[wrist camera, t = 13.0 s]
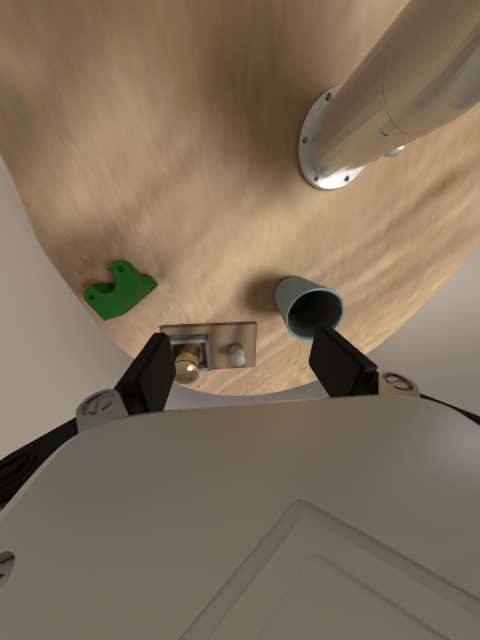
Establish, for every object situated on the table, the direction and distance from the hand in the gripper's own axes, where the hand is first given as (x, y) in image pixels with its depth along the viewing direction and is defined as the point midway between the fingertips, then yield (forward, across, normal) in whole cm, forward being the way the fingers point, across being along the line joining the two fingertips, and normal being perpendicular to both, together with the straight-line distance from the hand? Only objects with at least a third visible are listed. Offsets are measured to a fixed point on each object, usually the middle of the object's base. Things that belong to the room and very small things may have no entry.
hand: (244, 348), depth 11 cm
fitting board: (+28, +5, +19) cm, 34 cm away
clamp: (+29, +21, +3) cm, 36 cm away
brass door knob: (+27, +10, +19) cm, 34 cm away
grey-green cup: (+28, -14, +6) cm, 32 cm away
